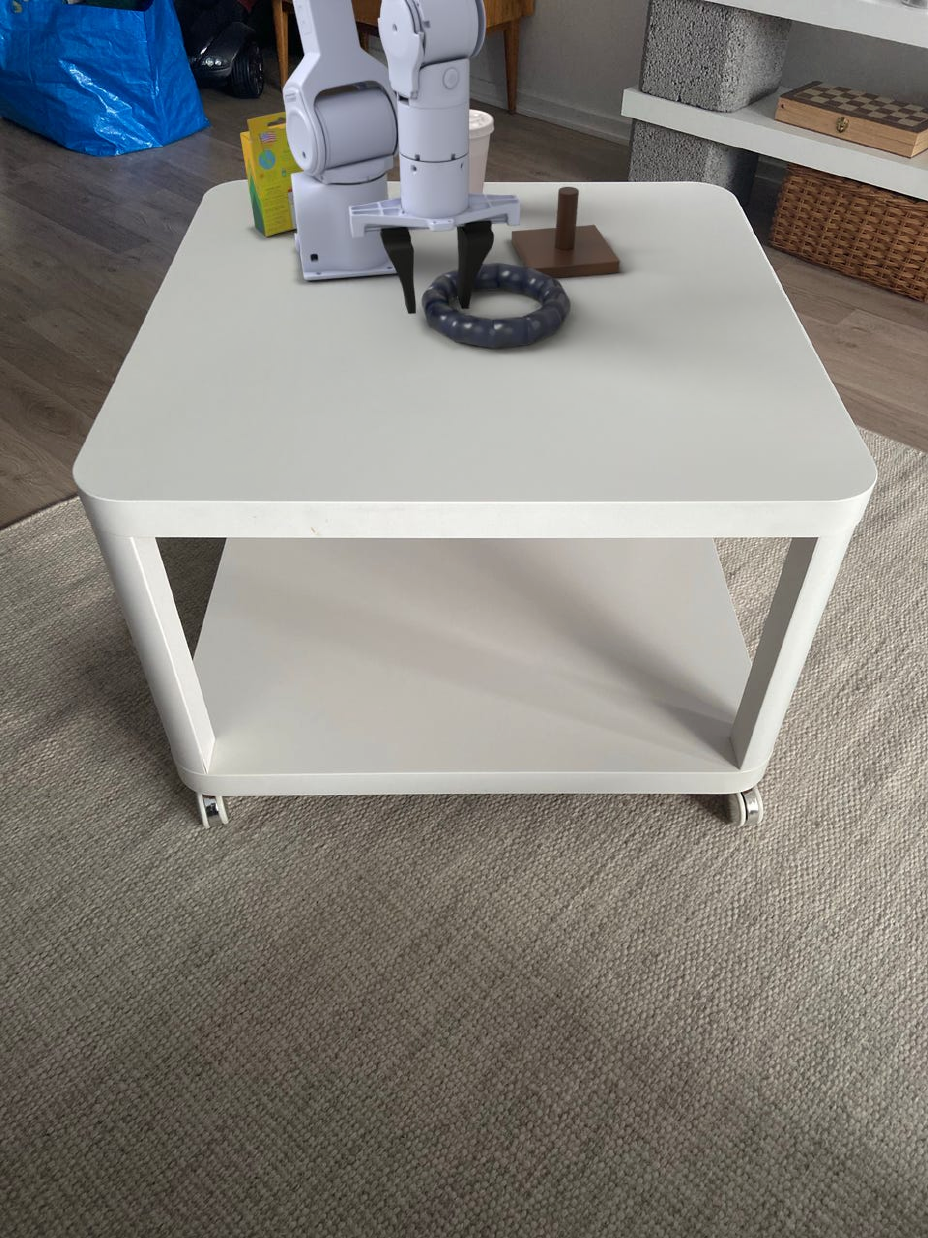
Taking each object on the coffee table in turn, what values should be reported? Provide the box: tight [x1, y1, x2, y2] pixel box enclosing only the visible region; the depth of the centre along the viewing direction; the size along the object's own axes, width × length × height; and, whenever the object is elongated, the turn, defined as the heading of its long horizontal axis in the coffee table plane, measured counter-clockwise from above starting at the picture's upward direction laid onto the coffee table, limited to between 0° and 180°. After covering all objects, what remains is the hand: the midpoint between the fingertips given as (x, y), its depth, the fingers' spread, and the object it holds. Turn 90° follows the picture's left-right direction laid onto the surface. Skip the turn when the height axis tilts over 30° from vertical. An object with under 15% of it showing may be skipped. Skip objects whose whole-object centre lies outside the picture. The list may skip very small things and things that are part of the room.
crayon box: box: [239, 111, 303, 238], centre depth 101 cm, size 7×3×12 cm, turn 123°
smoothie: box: [469, 109, 495, 194], centre depth 103 cm, size 6×6×14 cm
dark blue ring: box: [420, 262, 572, 349], centre depth 90 cm, size 13×13×2 cm
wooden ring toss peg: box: [510, 186, 621, 279], centre depth 97 cm, size 9×9×7 cm
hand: (437, 306), depth 89 cm, fingers open, 4 cm apart
